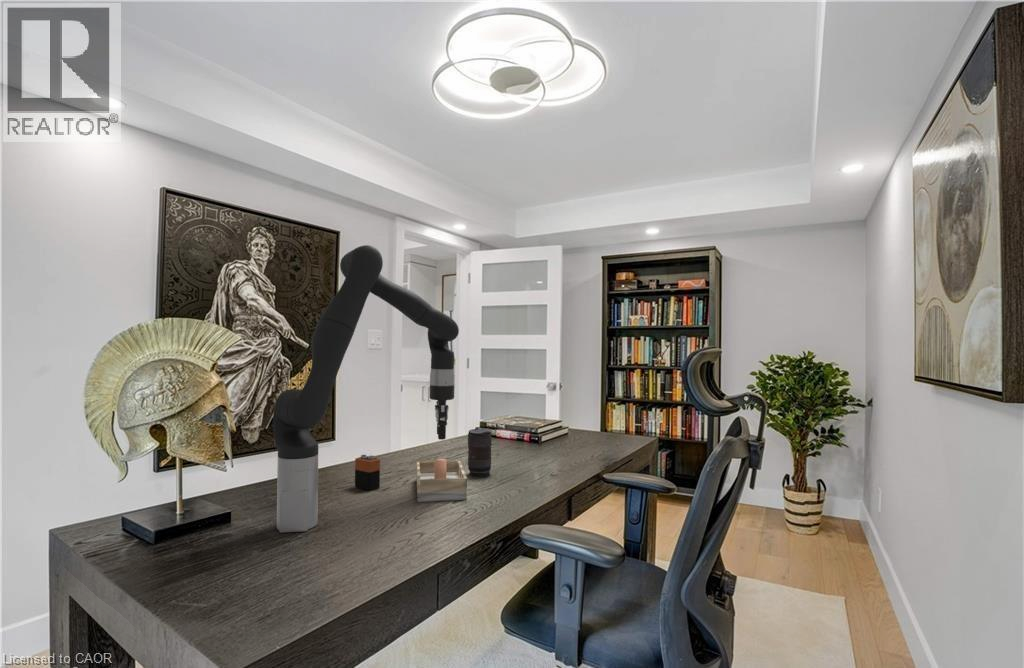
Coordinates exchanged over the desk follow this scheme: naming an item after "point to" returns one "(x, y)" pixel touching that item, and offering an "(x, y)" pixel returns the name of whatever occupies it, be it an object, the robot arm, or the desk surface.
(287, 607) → the desk surface
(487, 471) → the camera lens
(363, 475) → the battery
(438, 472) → the peg
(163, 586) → the desk surface
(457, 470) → the box
